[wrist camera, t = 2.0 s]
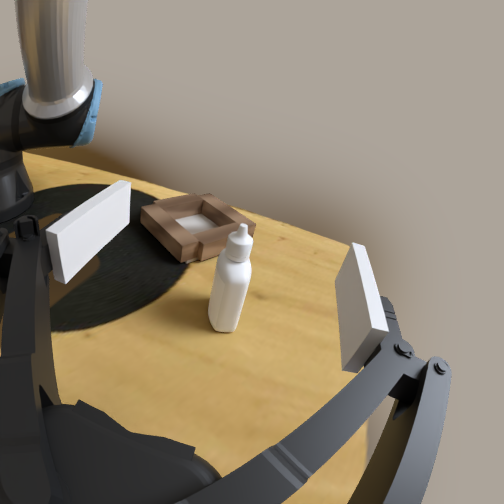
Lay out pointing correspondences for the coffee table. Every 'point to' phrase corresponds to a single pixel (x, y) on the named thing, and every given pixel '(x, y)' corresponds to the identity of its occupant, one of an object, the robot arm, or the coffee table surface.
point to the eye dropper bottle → (231, 281)
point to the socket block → (193, 225)
